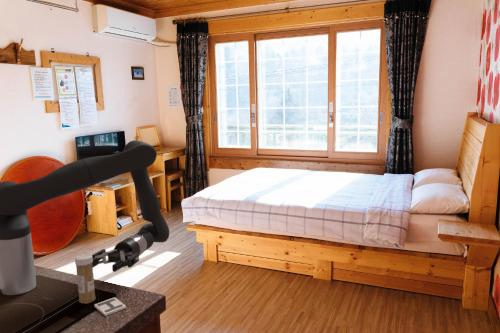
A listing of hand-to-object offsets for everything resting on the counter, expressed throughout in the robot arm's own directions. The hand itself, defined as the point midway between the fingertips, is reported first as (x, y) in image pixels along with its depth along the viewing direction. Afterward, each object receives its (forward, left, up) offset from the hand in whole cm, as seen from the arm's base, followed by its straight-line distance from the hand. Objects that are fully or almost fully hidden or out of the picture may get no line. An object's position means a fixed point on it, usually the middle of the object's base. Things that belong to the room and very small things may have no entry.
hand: (101, 267), depth 120 cm
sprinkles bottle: (+4, -6, -7) cm, 10 cm away
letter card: (+12, -3, -7) cm, 14 cm away
